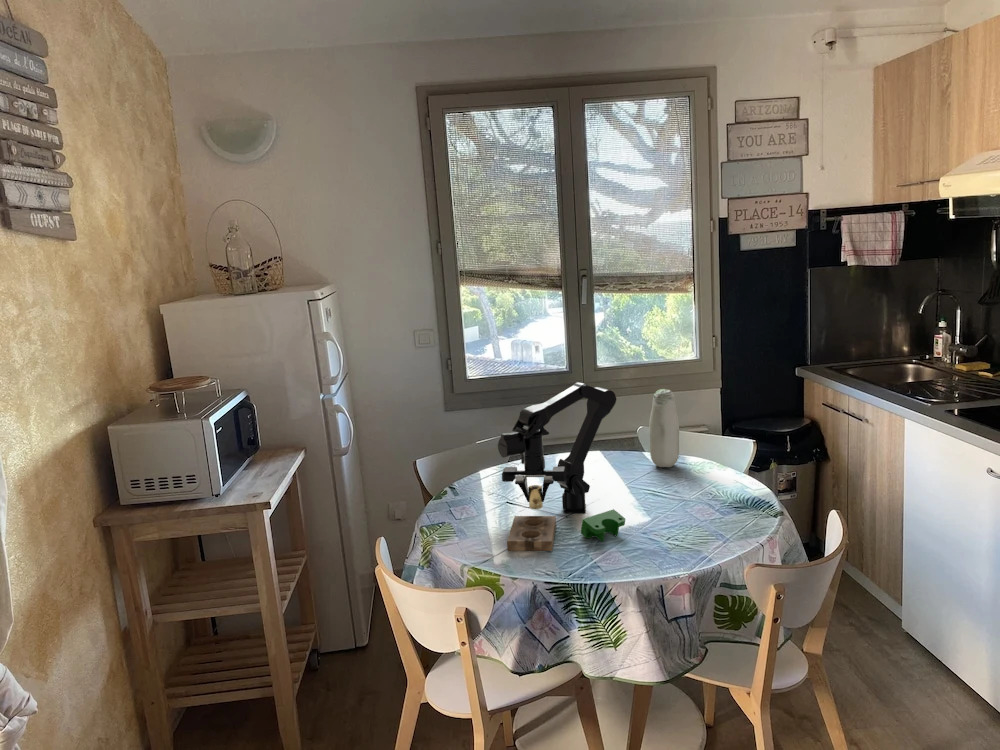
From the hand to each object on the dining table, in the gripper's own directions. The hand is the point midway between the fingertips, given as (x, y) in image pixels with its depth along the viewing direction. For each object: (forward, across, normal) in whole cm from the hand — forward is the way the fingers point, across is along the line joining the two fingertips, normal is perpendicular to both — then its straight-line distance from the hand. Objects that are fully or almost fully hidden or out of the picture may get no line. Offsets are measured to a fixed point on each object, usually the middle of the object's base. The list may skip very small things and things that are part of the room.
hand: (535, 501), depth 218 cm
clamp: (+6, -20, +12) cm, 24 cm away
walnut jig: (+6, 0, +13) cm, 15 cm away
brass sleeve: (+2, 0, 0) cm, 2 cm away
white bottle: (+6, -41, -48) cm, 64 cm away
